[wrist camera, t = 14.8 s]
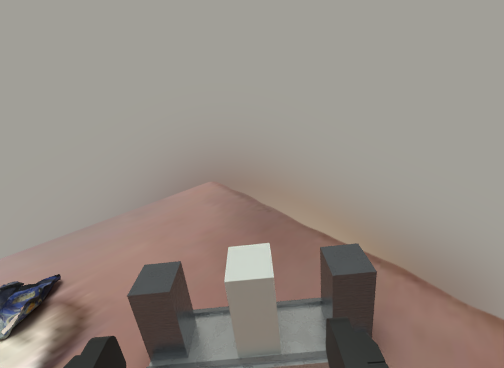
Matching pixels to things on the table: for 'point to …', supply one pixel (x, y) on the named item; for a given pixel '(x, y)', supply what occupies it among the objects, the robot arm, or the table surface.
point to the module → (252, 300)
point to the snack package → (22, 300)
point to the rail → (220, 325)
